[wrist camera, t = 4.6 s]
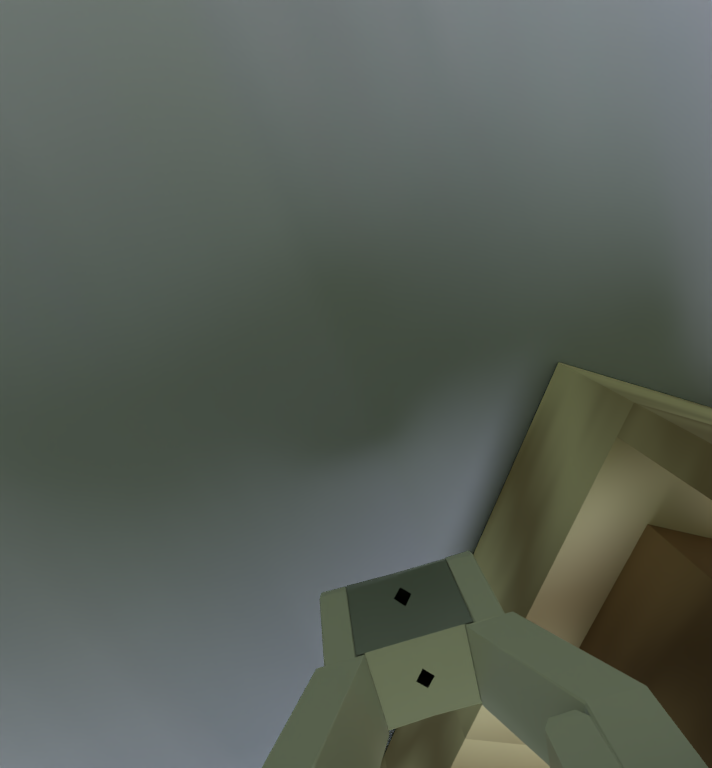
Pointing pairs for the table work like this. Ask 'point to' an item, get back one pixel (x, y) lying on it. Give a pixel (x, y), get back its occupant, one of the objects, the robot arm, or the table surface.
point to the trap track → (573, 532)
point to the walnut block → (664, 628)
